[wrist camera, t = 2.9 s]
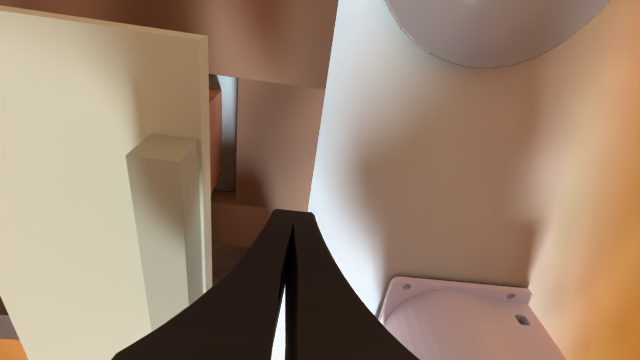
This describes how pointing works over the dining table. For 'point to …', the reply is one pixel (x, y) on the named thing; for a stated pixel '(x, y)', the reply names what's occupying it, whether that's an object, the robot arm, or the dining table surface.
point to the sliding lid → (100, 180)
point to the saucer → (491, 27)
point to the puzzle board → (243, 99)
